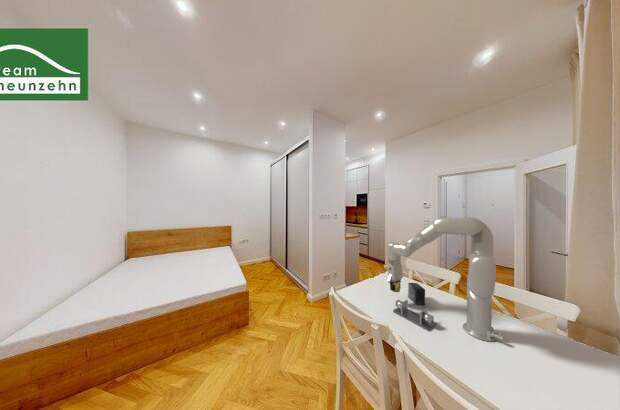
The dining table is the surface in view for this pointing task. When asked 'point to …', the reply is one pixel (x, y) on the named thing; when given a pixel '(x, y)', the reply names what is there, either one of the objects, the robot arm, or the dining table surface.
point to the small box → (416, 293)
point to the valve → (397, 286)
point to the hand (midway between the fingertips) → (395, 289)
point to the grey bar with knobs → (415, 315)
